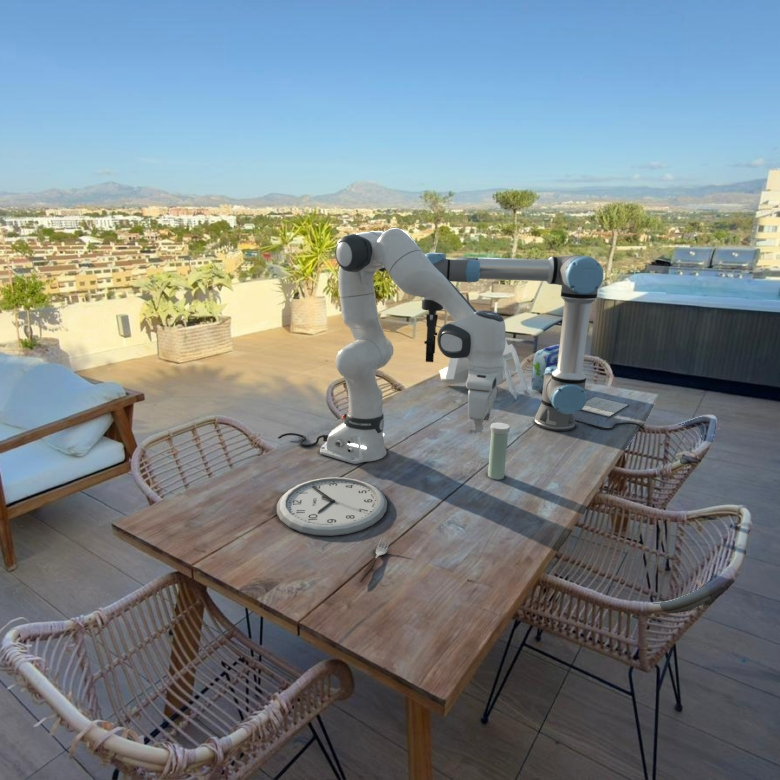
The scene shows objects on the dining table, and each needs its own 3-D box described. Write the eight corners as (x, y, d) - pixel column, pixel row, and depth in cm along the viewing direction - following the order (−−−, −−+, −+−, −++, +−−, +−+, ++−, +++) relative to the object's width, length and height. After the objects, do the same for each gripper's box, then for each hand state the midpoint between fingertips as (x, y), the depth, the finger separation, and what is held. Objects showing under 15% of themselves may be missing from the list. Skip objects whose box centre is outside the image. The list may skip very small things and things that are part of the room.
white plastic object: (461, 429, 252) (437, 405, 227) (444, 352, 274) (420, 323, 250) (535, 404, 240) (518, 377, 215) (510, 326, 262) (492, 293, 237)
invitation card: (608, 416, 214) (573, 407, 224) (608, 416, 214) (573, 408, 224) (628, 404, 229) (594, 396, 238) (628, 405, 229) (594, 397, 238)
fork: (354, 582, 112) (354, 574, 111) (381, 542, 126) (381, 535, 125) (365, 585, 111) (365, 577, 110) (391, 545, 125) (391, 537, 125)
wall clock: (392, 527, 129) (268, 531, 127) (391, 533, 130) (269, 537, 127) (383, 473, 158) (282, 475, 155) (383, 478, 158) (282, 480, 156)
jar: (505, 473, 163) (509, 425, 158) (502, 480, 158) (507, 431, 154) (489, 471, 164) (493, 423, 160) (486, 478, 160) (490, 428, 155)
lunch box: (547, 397, 237) (552, 352, 231) (526, 391, 245) (531, 348, 238) (574, 386, 255) (580, 344, 249) (554, 381, 262) (559, 340, 256)
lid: (510, 428, 159) (510, 423, 158) (508, 435, 154) (508, 430, 153) (491, 426, 160) (492, 421, 160) (488, 432, 155) (489, 427, 155)
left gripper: (481, 364, 145) (478, 411, 149) (464, 383, 127) (462, 436, 131) (504, 366, 143) (500, 414, 147) (490, 386, 125) (487, 440, 129)
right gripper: (424, 293, 195) (422, 349, 202) (419, 302, 172) (417, 365, 178) (444, 294, 195) (441, 350, 201) (442, 303, 171) (439, 366, 177)
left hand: (482, 425), depth 139 cm, fingers open, 8 cm apart
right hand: (430, 357), depth 190 cm, fingers open, 13 cm apart
